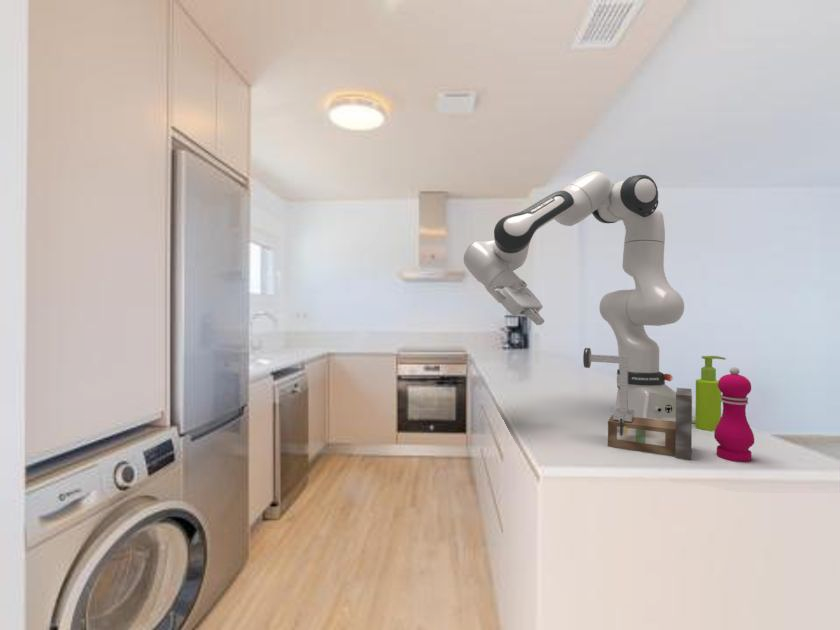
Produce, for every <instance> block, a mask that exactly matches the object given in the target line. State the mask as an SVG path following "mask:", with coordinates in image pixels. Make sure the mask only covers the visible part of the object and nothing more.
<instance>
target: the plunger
mask: <svg viewBox="0 0 840 630" xmlns="http://www.w3.org/2000/svg"><path fill="white" fill-rule="evenodd" d="M582 355H583V358H582V360H583V363H582V364H583V366H584V368H586V369H587V368H588V369H591V364H592V362H593V363H607V364H608V363H609V364H619V363H620V409H619V408H616V410H615V411H614V410H613V411H614V413H613V412H612V415H613V420H619V422H620V435H621V436H622V435H623V422H624V421H628V422H632V420H633V418H634V410H628V356H619V355H609V354H608V355H607V354H606V355H605V354H592V350H591V348H590V347H584V350H583V354H582Z"/></svg>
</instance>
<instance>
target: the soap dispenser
mask: <svg viewBox="0 0 840 630" xmlns="http://www.w3.org/2000/svg"><path fill="white" fill-rule="evenodd" d="M701 359H704V366H703V367H701V368H700V369H701V371H700V378H699V379H698V378H697V379H696V380H695V417H696V418H695V423H694V424H695V428H697V429H699V430H703V431H709V432H715V429H716V426H717V424H718V423H719V421H720V419H721V417H722V402H721V395H722V392H721V391H720V390H719V388H718V382H719V380H717V375H716V374H717V369H716V368H715V367H713V360H715V359H716V360H723V361H724V360H726V359H727V358H725V357H723V356H719V355H702V356H701Z"/></svg>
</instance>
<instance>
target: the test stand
mask: <svg viewBox="0 0 840 630" xmlns="http://www.w3.org/2000/svg"><path fill="white" fill-rule="evenodd" d="M675 392H676V422H674V421H665V420H656V419H648V418H639V417H634V418H633V420H632V422H628V421H624V422H623V435H622V436H621V435H620V422H619V420H613V414H612V415H611V416H610V417H609V419H608V420H607V447H611V448H617V449H625V450H630V451H631V450H632V451H637V452H643V453H651V454H655V455H656V454H657V455H663V456H671V457H675V459H681V460H687V461H692V444H693V443H692V439H693V437H692V436H693V435H692V433H693V430H692V429H693V428H692V427H693V423H692V416H693V393H692V388H685V387H676V390H675ZM624 426H627V435H624Z"/></svg>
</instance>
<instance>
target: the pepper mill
mask: <svg viewBox="0 0 840 630" xmlns="http://www.w3.org/2000/svg"><path fill="white" fill-rule="evenodd" d="M718 381H719V382H718V388H719V390H720V391H721V403H722V412H721V419H720V421H719V423H718V424H717V426H716V429H715V431H714V439H715V440H716V442H717V444H719V445H717V446H716V455H717V456H718V457H720V458H722V459H724V460H728V461H733V462H740V463H742V462H744V463H745V462H751V460H752V451H751V450H750V448H751V447H753V446H754V444H755V435H754V432H753V429H752V428H751V426H750V424H749V422H748V419H747V414H746V412H747V411H746V409H747V405H748V404H749V397H747V396H748V395H749V394H750V393H751V391H752V383H751V382H750V380H749V379H748V378H747V377H746V376H743V375H741V374H740V369H739V368H738V367H736V366H733V367H731V368H730V369H729V373H728V374H724V375H722V376H721V377H720V378H719V380H718Z"/></svg>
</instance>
